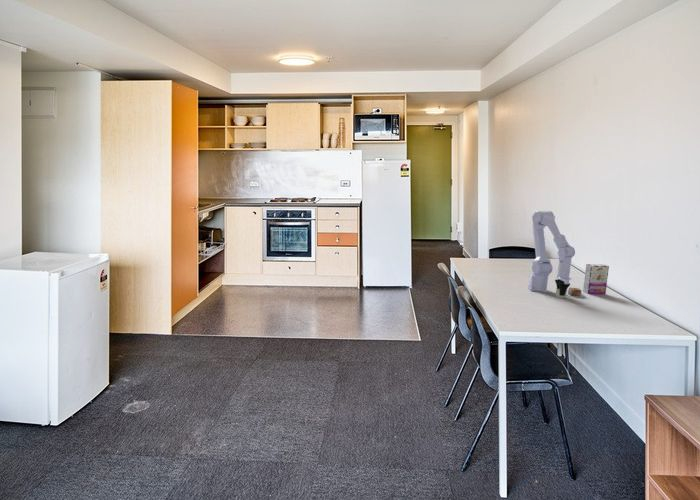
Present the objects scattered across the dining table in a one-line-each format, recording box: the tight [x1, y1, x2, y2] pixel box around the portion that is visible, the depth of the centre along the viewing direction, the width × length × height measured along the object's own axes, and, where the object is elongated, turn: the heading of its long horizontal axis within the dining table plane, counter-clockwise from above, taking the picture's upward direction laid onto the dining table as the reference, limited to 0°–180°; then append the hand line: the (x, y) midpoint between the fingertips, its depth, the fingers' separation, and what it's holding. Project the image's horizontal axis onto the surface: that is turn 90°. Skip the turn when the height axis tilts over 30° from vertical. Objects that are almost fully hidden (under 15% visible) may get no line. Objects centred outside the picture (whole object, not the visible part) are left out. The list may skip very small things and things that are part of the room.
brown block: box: [568, 287, 583, 298], centre depth 273 cm, size 5×5×4 cm
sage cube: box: [555, 288, 567, 299], centre depth 267 cm, size 4×4×4 cm
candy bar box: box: [582, 263, 610, 295], centre depth 280 cm, size 11×5×16 cm, turn 101°
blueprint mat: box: [566, 289, 588, 299], centre depth 277 cm, size 11×16×1 cm
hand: (560, 294), depth 268 cm, fingers closed on sage cube, 4 cm apart
